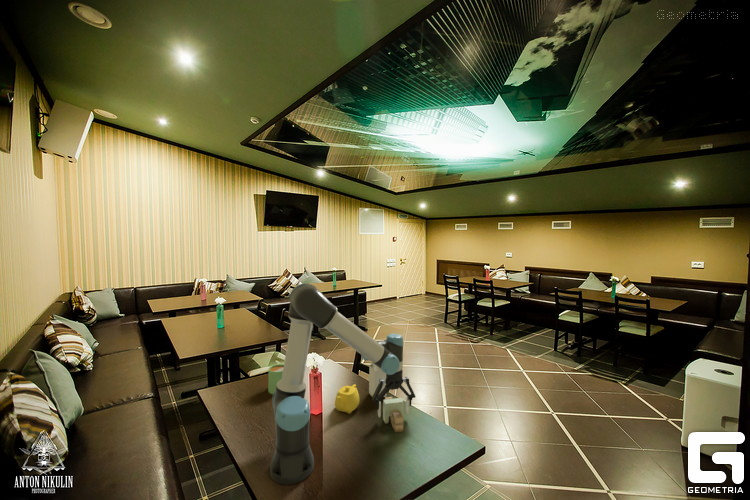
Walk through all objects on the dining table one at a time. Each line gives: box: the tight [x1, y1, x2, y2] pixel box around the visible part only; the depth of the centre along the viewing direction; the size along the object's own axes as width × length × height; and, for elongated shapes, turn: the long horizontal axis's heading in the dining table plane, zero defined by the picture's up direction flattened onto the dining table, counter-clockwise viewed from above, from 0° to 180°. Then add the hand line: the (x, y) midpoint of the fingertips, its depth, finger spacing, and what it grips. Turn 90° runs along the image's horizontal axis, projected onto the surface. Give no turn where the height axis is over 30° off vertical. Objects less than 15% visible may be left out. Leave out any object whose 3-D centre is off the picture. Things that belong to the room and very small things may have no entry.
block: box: [382, 397, 405, 424], centre depth 138 cm, size 4×9×9 cm, turn 103°
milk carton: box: [368, 362, 388, 398], centre depth 160 cm, size 7×7×19 cm
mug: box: [267, 363, 284, 395], centre depth 165 cm, size 13×10×12 cm
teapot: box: [334, 384, 360, 415], centre depth 146 cm, size 18×11×11 cm, turn 156°
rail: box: [384, 396, 404, 433], centre depth 138 cm, size 18×4×6 cm, turn 13°
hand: (393, 414), depth 138 cm, fingers open, 13 cm apart
